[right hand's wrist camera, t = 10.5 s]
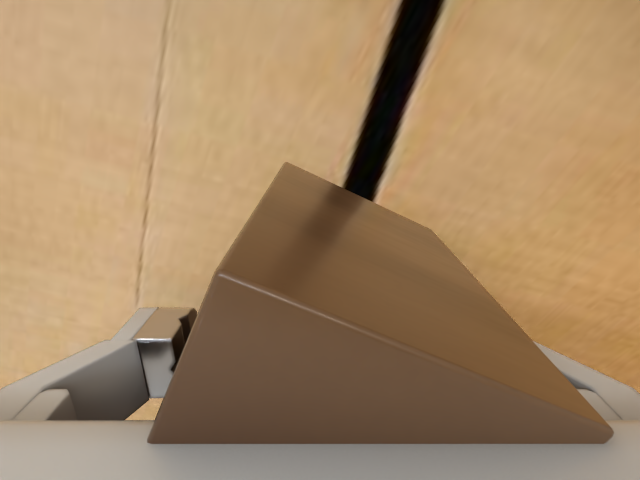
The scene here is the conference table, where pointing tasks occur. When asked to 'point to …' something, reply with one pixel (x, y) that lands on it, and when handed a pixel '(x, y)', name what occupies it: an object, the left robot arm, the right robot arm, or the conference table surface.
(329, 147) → the conference table surface
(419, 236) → the bar
